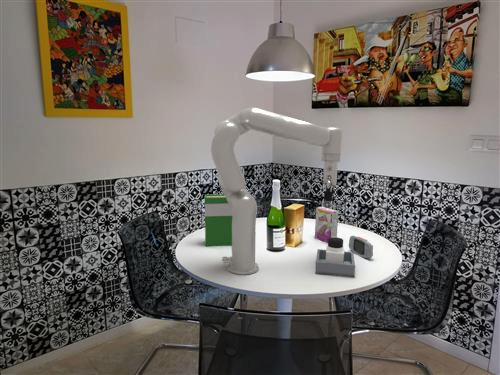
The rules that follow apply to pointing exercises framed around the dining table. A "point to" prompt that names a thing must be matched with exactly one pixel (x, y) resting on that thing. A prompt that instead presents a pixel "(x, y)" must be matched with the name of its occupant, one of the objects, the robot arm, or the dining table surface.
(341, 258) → the medicine bottle
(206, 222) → the hardback book
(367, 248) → the handheld gaming console
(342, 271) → the walled bin
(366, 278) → the dining table surface
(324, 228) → the candy bar box
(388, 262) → the dining table surface
